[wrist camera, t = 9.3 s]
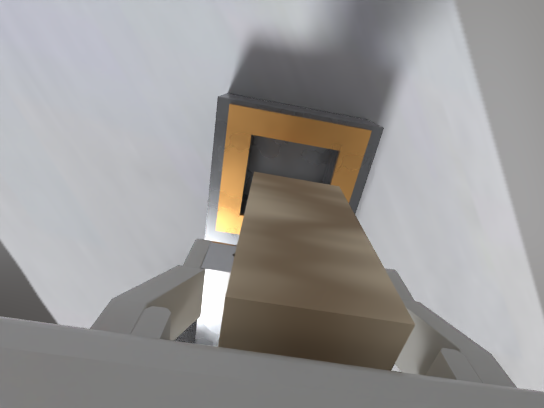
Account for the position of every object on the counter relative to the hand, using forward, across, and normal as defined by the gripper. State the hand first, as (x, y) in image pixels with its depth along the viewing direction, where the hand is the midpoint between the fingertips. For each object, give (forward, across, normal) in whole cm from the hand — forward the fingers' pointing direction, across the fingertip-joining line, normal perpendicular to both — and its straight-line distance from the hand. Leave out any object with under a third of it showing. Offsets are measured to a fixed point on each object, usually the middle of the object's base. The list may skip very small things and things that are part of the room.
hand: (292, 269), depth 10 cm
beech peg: (+4, 0, 0) cm, 4 cm away
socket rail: (+13, 0, -9) cm, 16 cm away
